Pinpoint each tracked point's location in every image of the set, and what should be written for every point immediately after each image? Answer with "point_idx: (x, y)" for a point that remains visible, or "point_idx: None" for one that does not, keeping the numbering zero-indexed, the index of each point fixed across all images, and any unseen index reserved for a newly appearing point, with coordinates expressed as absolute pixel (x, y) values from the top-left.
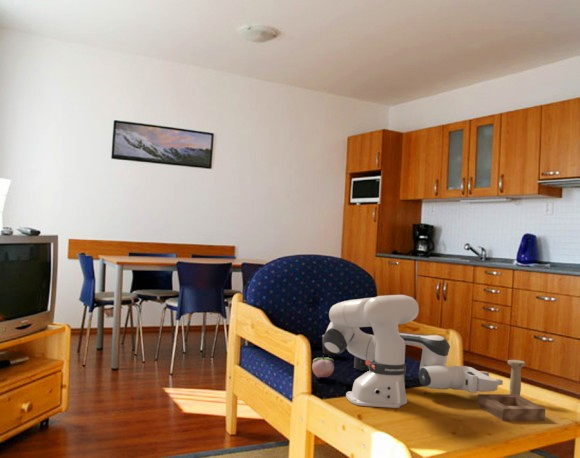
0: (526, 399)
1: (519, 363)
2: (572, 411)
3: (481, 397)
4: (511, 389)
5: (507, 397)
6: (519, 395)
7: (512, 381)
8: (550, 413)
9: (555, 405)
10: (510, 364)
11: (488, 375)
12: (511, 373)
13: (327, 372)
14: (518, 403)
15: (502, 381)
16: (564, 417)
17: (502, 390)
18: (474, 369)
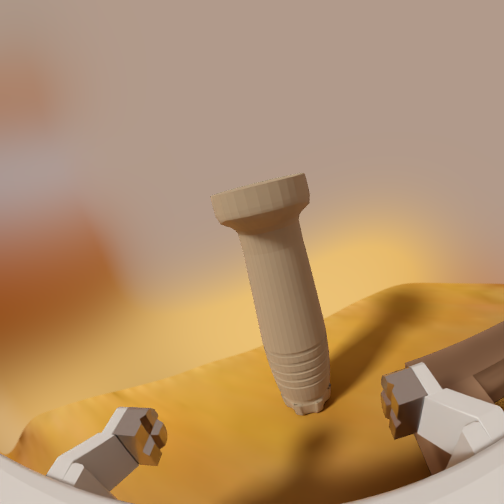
0: (487, 333)
1: (305, 177)
2: (401, 284)
3: None
4: (309, 374)
5: None
6: (425, 356)
7: (303, 327)
8: (460, 319)
9: (353, 305)
10: (281, 205)
11: (158, 423)
12: (274, 282)
13: None
14: (494, 381)
15: (421, 369)
16: (477, 296)
17: (163, 397)
18: (35, 493)
